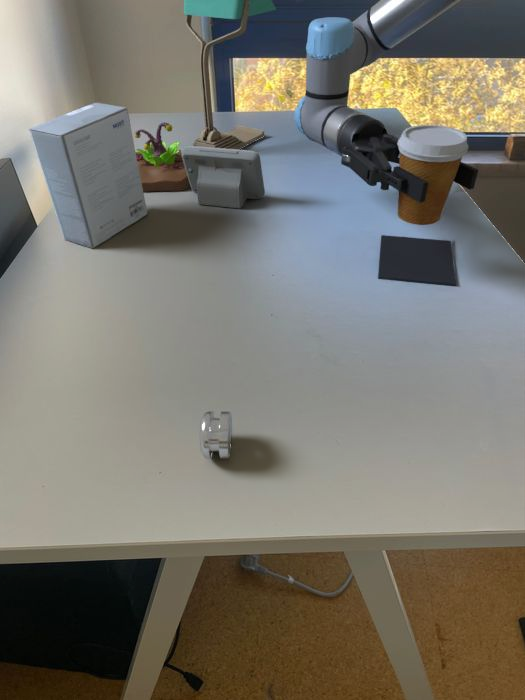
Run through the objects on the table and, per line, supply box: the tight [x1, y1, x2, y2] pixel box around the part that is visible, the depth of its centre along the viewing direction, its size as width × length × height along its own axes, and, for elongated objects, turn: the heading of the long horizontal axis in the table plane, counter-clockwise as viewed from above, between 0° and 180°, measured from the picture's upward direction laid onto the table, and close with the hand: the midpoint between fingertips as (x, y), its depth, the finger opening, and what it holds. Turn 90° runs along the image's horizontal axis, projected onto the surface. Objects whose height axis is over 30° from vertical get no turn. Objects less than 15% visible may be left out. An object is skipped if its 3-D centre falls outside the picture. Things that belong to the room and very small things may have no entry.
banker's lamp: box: [183, 0, 277, 149], centre depth 119 cm, size 16×21×35 cm
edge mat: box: [377, 234, 457, 287], centre depth 87 cm, size 12×14×1 cm
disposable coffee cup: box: [397, 124, 469, 226], centre depth 75 cm, size 10×10×12 cm
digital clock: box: [180, 145, 266, 209], centre depth 103 cm, size 16×9×11 cm, turn 63°
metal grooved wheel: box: [199, 410, 233, 459], centre depth 55 cm, size 5×3×5 cm, turn 178°
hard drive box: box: [28, 102, 148, 249], centre depth 91 cm, size 16×8×20 cm, turn 150°
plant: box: [134, 121, 191, 193], centre depth 113 cm, size 20×20×11 cm
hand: (449, 186), depth 71 cm, fingers closed on disposable coffee cup, 8 cm apart
